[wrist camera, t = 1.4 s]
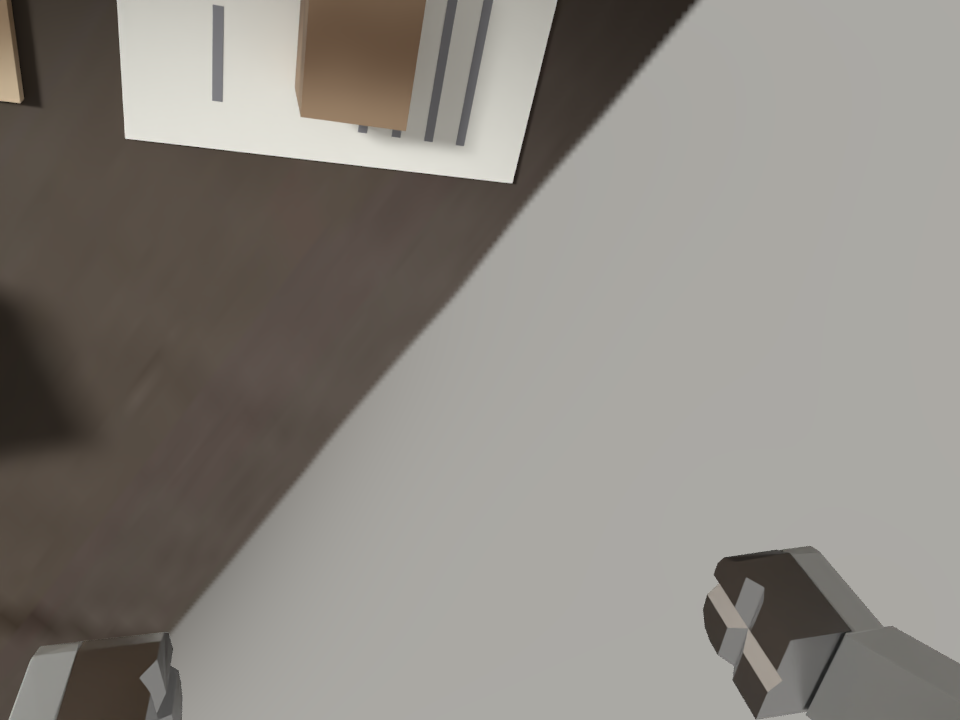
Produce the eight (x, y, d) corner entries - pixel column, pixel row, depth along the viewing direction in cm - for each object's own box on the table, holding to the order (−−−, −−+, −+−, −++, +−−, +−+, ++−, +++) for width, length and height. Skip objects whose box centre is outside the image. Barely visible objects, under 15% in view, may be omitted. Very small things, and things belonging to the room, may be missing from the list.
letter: (103, -235, 23) (102, -236, 22) (580, -106, 28) (583, -105, 28) (126, 136, 29) (125, 138, 29) (510, 181, 35) (512, 183, 34)
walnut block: (306, -79, 26) (314, -68, 23) (411, -55, 27) (432, -42, 24) (294, 87, 29) (300, 117, 26) (389, 101, 31) (406, 131, 27)
